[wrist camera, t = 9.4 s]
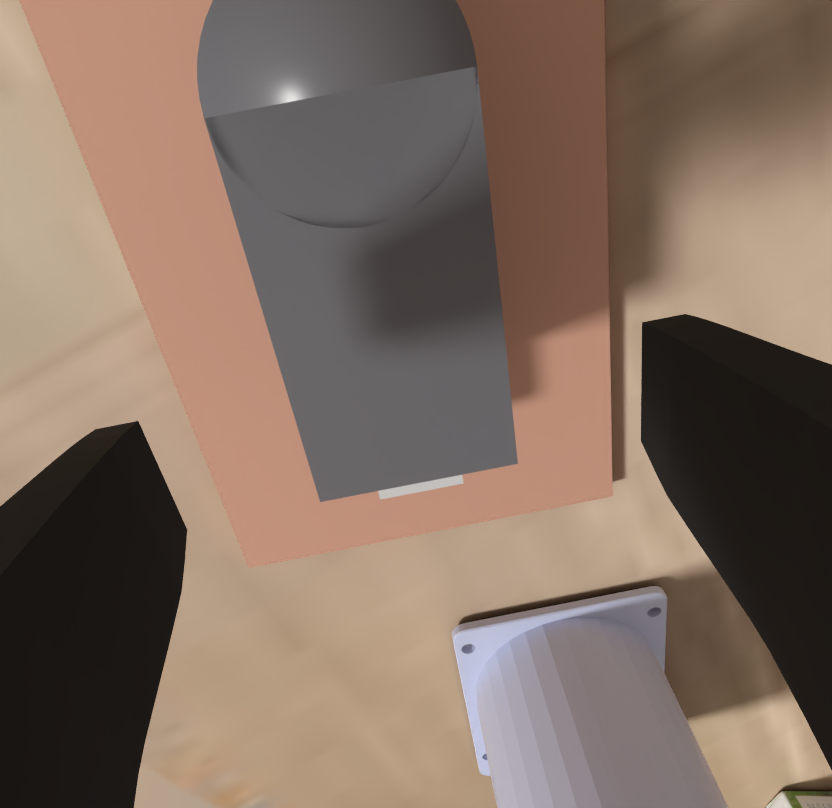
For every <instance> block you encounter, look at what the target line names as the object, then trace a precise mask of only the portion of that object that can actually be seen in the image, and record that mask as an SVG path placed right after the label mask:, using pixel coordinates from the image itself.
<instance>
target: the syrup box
mask: <svg viewBox="0 0 832 808" xmlns="http://www.w3.org/2000/svg"><path fill="white" fill-rule="evenodd" d="M766 808H832V791H782V792H780V793H779V794H778V795H777V796H776V797H775V798H774V799H773V800H772V801H771V802H770V803H769V804H768V805H767V807H766Z"/></svg>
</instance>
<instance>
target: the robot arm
mask: <svg viewBox="0 0 832 808" xmlns="http://www.w3.org/2000/svg"><path fill="white" fill-rule="evenodd" d="M641 442H642V444H643V446H644V448H645V450H646V452H647V455H648V457H649V459H650V461H651V463H652V465H653V468H654V470H655V472H656V474H657V476H658V478H659V480H660V482H661V484H662V486H663V488H664V490H665V492H666V494H667V496H668V497H669V499H670V501H671V502H672V504H673V505H674V507H675V508H676V510H677V511H678V513H679V514H680V516H681V517H682V519H683V520H684V522H685V523H686V525H687V526H688V528H689V529H690V531H691V532H692V534H693V535H694V537H695V538H696V540H697V541H698V543H699V544H700V546H701V547H702V549H703V550H704V552H705V553H706V555H707V556H708V558H709V559H710V561H711V562H712V563H713V565H714V566H715V568H716V569H717V571H718V572H719V574H720V575H721V577H722V578H723V580H724V581H725V583H726V584H727V586H728V587H729V589H730V590H731V591H732V593H733V594H734V596H735V597H736V599H737V600H738V602H739V603H740V605H741V606H742V608H743V609H744V611H745V612H746V614H747V615H748V617H749V618H750V620H751V621H752V623H753V624H754V626H755V628H756V629H757V631H758V632H759V634H760V636H761V637H762V639H763V641H764V642H765V644H766V646H767V647H768V649H769V650H770V652H771V654H772V656H773V658H774V660H775V662H776V664H777V665H778V667H779V669H780V671H781V673H782V675H783V677H784V679H785V680H786V682H787V684H788V686H789V688H790V690H791V692H792V694H793V695H794V697H795V699H796V701H797V703H798V705H799V707H800V709H801V710H802V712H803V714H804V716H805V718H806V720H807V722H808V724H809V726H810V728H811V730H812V732H813V734H814V736H815V738H816V740H817V742H818V744H819V746H820V748H821V750H822V752H823V754H824V756H825V758H826V760H827V762H828V764H829V766H830V768H831V770H832V365H831V364H828V363H825V362H822V361H819V360H817V359H814V358H811V357H808V356H805V355H802V354H800V353H797V352H794V351H791V350H789V349H786V348H783V347H780V346H778V345H775V344H772V343H770V342H767V341H764V340H761V339H759V338H756V337H753V336H751V335H748V334H745V333H742V332H740V331H737V330H734V329H732V328H729V327H726V326H723V325H720V324H717V323H714V322H711V321H708V320H705V319H702V318H698V317H695V316H690V315H686V314H684V315H678V316H673V317H668V318H663V319H658V320H653V321H648V322H643V323H642V395H641ZM186 536H187V529H186V526H185V524H184V522H183V520H182V517H181V515H180V513H179V511H178V509H177V506H176V504H175V502H174V500H173V497H172V495H171V493H170V491H169V489H168V486H167V484H166V482H165V480H164V477H163V475H162V473H161V471H160V469H159V466H158V464H157V462H156V460H155V457H154V455H153V453H152V451H151V449H150V446H149V444H148V442H147V440H146V437H145V435H144V433H143V431H142V429H141V426H140V424H139V422H138V421H136V422H131V423H126V424H121V425H116V426H111V427H106V428H101V429H96V430H94V431H93V432H91V433H89V434H88V435H86V436H85V437H84V438H82V439H81V440H79V441H78V442H77V443H75V444H74V445H73V446H72V447H70V448H69V449H68V450H67V451H65V452H64V453H63V454H62V455H61V456H59V457H58V458H57V459H56V460H55V461H53V462H52V463H51V464H50V465H49V466H47V467H46V468H45V469H44V470H43V471H41V472H40V473H39V474H38V475H37V476H36V477H34V478H33V479H32V480H31V481H30V482H29V483H27V484H26V485H25V486H24V487H23V488H22V489H20V490H19V491H18V492H17V493H16V494H15V495H13V496H12V497H11V498H10V499H9V500H7V501H6V502H5V503H4V504H3V505H2V506H0V808H134V801H135V794H136V787H137V780H138V773H139V768H140V764H141V759H142V754H143V749H144V744H145V739H146V735H147V731H148V727H149V723H150V719H151V715H152V711H153V707H154V703H155V699H156V695H157V691H158V687H159V683H160V679H161V675H162V671H163V667H164V663H165V659H166V655H167V650H168V646H169V642H170V638H171V634H172V630H173V626H174V621H175V617H176V613H177V609H178V604H179V600H180V596H181V591H182V581H183V572H184V563H185V550H186ZM666 622H667V596H666V594H665V592H664V590H663V589H662V588H661V587H658V586H650V587H645V588H640V589H634V590H629V591H624V592H619V593H614V594H609V595H604V596H599V597H594V598H589V599H584V600H579V601H574V602H569V603H564V604H559V605H553V606H548V607H543V608H538V609H533V610H528V611H523V612H518V613H513V614H508V615H503V616H498V617H493V618H488V619H483V620H478V621H472V622H467V623H463V624H460V625H458V626H457V627H455V628H454V630H453V631H452V638H453V643H454V648H455V653H456V658H457V663H458V668H459V673H460V678H461V683H462V688H463V693H464V698H465V703H466V707H467V712H468V717H469V722H470V727H471V732H472V737H473V742H474V747H475V752H476V757H477V762H478V767H479V771H480V773H481V774H483V775H486V776H491V779H492V784H493V789H494V794H495V799H496V804H497V808H729V807H728V805H727V803H726V801H725V799H724V797H723V795H722V793H721V791H720V789H719V786H718V784H717V782H716V780H715V778H714V776H713V774H712V772H711V770H710V768H709V766H708V763H707V761H706V759H705V757H704V755H703V753H702V751H701V749H700V747H699V745H698V743H697V740H696V738H695V736H694V734H693V732H692V730H691V728H690V726H689V724H688V722H687V720H686V717H685V715H684V713H683V711H682V709H681V707H680V705H679V703H678V701H677V699H676V697H675V695H674V692H673V690H672V688H671V686H670V684H669V682H668V680H667V678H666V676H665V674H664V670H665V646H666ZM467 644H469V645H467Z"/></svg>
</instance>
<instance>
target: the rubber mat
mask: <svg viewBox="0 0 832 808" xmlns="http://www.w3.org/2000/svg"><path fill="white" fill-rule="evenodd" d="M212 1H213V0H20V3H21V5H22V7H23V10H24V12H25V15H26V17H27V20H28V22H29V25H30V27H31V30H32V32H33V35H34V37H35V40H36V42H37V45H38V47H39V50H40V52H41V55H42V57H43V59H44V62H45V64H46V67H47V69H48V72H49V74H50V77H51V79H52V82H53V84H54V87H55V89H56V92H57V94H58V97H59V99H60V102H61V104H62V107H63V109H64V111H65V114H66V116H67V119H68V121H69V124H70V126H71V129H72V131H73V134H74V136H75V139H76V141H77V144H78V146H79V149H80V151H81V154H82V156H83V159H84V161H85V163H86V166H87V168H88V171H89V173H90V176H91V178H92V181H93V183H94V186H95V188H96V191H97V193H98V196H99V198H100V201H101V203H102V206H103V208H104V211H105V213H106V215H107V218H108V220H109V223H110V225H111V228H112V230H113V233H114V235H115V238H116V240H117V243H118V245H119V248H120V250H121V253H122V255H123V258H124V260H125V263H126V265H127V267H128V270H129V272H130V275H131V277H132V280H133V282H134V285H135V287H136V290H137V292H138V295H139V297H140V300H141V302H142V305H143V307H144V310H145V312H146V315H147V317H148V319H149V322H150V324H151V327H152V329H153V332H154V334H155V337H156V339H157V342H158V344H159V347H160V349H161V352H162V354H163V357H164V359H165V362H166V364H167V367H168V369H169V371H170V374H171V376H172V379H173V381H174V384H175V386H176V389H177V391H178V394H179V396H180V399H181V401H182V404H183V406H184V409H185V411H186V414H187V416H188V419H189V421H190V423H191V426H192V428H193V431H194V433H195V436H196V438H197V441H198V443H199V446H200V448H201V451H202V453H203V456H204V458H205V461H206V463H207V466H208V468H209V471H210V473H211V475H212V478H213V480H214V483H215V485H216V488H217V490H218V493H219V495H220V498H221V500H222V503H223V505H224V508H225V510H226V513H227V515H228V518H229V520H230V523H231V525H232V527H233V530H234V532H235V535H236V537H237V540H238V542H239V545H240V547H241V550H242V552H243V555H244V557H245V560H246V562H247V565H248V567H249V568H250V567H255V566H260V565H266V564H271V563H276V562H281V561H286V560H291V559H296V558H301V557H306V556H311V555H316V554H321V553H326V552H332V551H337V550H342V549H347V548H352V547H357V546H362V545H367V544H372V543H377V542H382V541H387V540H393V539H398V538H403V537H408V536H413V535H418V534H423V533H428V532H433V531H438V530H443V529H448V528H453V527H459V526H464V525H469V524H474V523H479V522H484V521H489V520H494V519H499V518H504V517H509V516H514V515H520V514H525V513H530V512H535V511H540V510H545V509H550V508H555V507H560V506H565V505H570V504H575V503H580V502H586V501H591V500H596V499H601V498H606V497H611V496H613V493H612V432H611V370H610V309H609V248H608V187H607V125H606V64H605V3H604V0H456V2H457V4H458V5H459V7H460V9H461V11H462V13H463V16H464V18H465V20H466V23H467V25H468V28H469V31H470V35H471V38H472V41H473V45H474V50H475V56H476V62H477V69H478V79H479V89H480V98H481V108H482V118H483V128H484V137H485V147H486V157H487V167H488V176H489V186H490V196H491V206H492V215H493V225H494V235H495V245H496V255H497V264H498V274H499V284H500V294H501V303H502V313H503V323H504V333H505V342H506V352H507V362H508V372H509V381H510V391H511V401H512V411H513V420H514V430H515V440H516V450H517V459H518V464H514V465H509V466H504V467H499V468H494V469H489V470H483V471H478V472H473V473H468V474H463V475H462V476H463V484H458V485H453V486H448V487H443V488H438V489H433V490H427V491H422V492H417V493H412V494H407V495H402V496H396V497H391V498H386V499H381V500H380V496H379V492H378V491H375V492H370V493H365V494H360V495H355V496H349V497H344V498H339V499H334V500H329V501H324V502H320V500H319V497H318V493H317V490H316V487H315V483H314V480H313V477H312V474H311V470H310V467H309V464H308V460H307V457H306V454H305V450H304V447H303V444H302V441H301V437H300V434H299V431H298V427H297V424H296V421H295V417H294V414H293V411H292V407H291V404H290V401H289V398H288V394H287V391H286V388H285V384H284V381H283V378H282V374H281V371H280V368H279V365H278V361H277V358H276V355H275V351H274V348H273V345H272V341H271V338H270V335H269V331H268V328H267V325H266V322H265V318H264V315H263V312H262V308H261V305H260V302H259V298H258V295H257V292H256V289H255V285H254V282H253V279H252V275H251V272H250V269H249V265H248V262H247V259H246V255H245V252H244V249H243V246H242V242H241V239H240V236H239V232H238V229H237V226H236V222H235V219H234V216H233V213H232V209H231V206H230V203H229V199H228V196H227V193H226V189H225V186H224V183H223V179H222V176H221V173H220V170H219V166H218V163H217V160H216V156H215V153H214V150H213V146H212V143H211V140H210V137H209V133H208V130H207V127H206V123H205V120H204V116H203V112H202V108H201V104H200V99H199V92H198V83H197V56H198V49H199V42H200V36H201V32H202V29H203V25H204V21H205V18H206V15H207V13H208V11H209V8H210V6H211V4H212Z"/></svg>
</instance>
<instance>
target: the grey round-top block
mask: <svg viewBox="0 0 832 808" xmlns="http://www.w3.org/2000/svg"><path fill="white" fill-rule="evenodd" d="M197 83H198V92H199V99H200V104H201V108H202V112H203V116H204V120H205V123H206V127H207V130H208V133H209V137H210V140H211V143H212V146H213V150H214V153H215V156H216V160H217V163H218V166H219V170H220V173H221V176H222V179H223V183H224V186H225V189H226V193H227V196H228V199H229V203H230V206H231V209H232V213H233V216H234V219H235V222H236V226H237V229H238V232H239V236H240V239H241V242H242V246H243V249H244V252H245V255H246V259H247V262H248V265H249V269H250V272H251V275H252V279H253V282H254V285H255V289H256V292H257V295H258V298H259V302H260V305H261V308H262V312H263V315H264V318H265V322H266V325H267V328H268V331H269V335H270V338H271V341H272V345H273V348H274V351H275V355H276V358H277V361H278V365H279V368H280V371H281V374H282V378H283V381H284V384H285V388H286V391H287V394H288V398H289V401H290V404H291V407H292V411H293V414H294V417H295V421H296V424H297V427H298V431H299V434H300V437H301V441H302V444H303V447H304V450H305V454H306V457H307V460H308V464H309V467H310V470H311V474H312V477H313V480H314V483H315V487H316V490H317V493H318V497H319V500H320V502H324V501H329V500H334V499H339V498H344V497H349V496H355V495H360V494H365V493H370V492H375V491H378V492H379V496H380V500H381V499H386V498H391V497H396V496H402V495H407V494H412V493H417V492H422V491H427V490H433V489H438V488H443V487H448V486H453V485H458V484H463V476H462V475H463V474H468V473H473V472H478V471H483V470H489V469H494V468H499V467H504V466H509V465H514V464H518V459H517V450H516V440H515V430H514V420H513V411H512V401H511V391H510V381H509V372H508V362H507V352H506V342H505V333H504V323H503V313H502V303H501V294H500V284H499V274H498V264H497V255H496V245H495V235H494V225H493V215H492V206H491V196H490V186H489V176H488V167H487V157H486V147H485V137H484V128H483V118H482V108H481V98H480V89H479V79H478V69H477V62H476V56H475V50H474V45H473V41H472V38H471V35H470V31H469V28H468V25H467V23H466V20H465V18H464V16H463V13H462V11H461V9H460V7H459V5H458V4H457V2H456V0H213V1H212V4H211V6H210V8H209V11H208V13H207V15H206V18H205V21H204V25H203V29H202V32H201V36H200V42H199V49H198V56H197Z"/></svg>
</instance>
